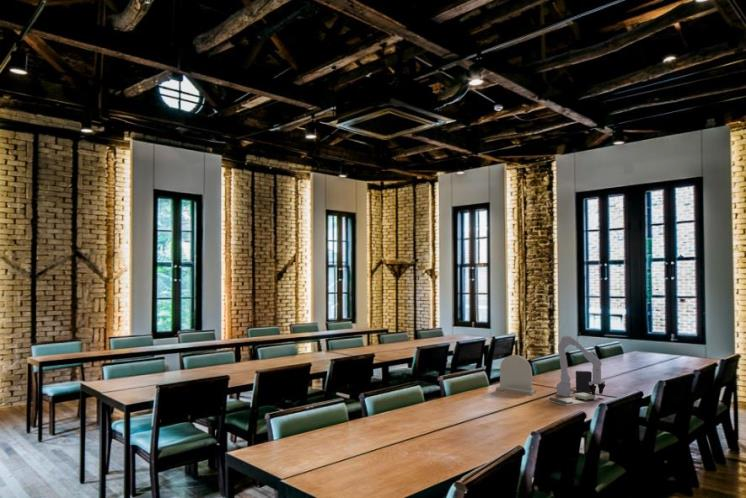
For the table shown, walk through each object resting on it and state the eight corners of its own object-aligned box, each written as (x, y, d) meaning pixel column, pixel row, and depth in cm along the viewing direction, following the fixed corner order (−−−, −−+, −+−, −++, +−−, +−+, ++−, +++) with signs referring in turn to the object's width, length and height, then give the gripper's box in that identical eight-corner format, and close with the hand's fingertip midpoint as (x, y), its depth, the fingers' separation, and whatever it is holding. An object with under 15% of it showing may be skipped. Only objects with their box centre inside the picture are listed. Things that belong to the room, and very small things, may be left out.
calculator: (590, 390, 398) (589, 371, 398) (592, 391, 393) (591, 372, 394) (575, 390, 399) (575, 370, 399) (577, 391, 394) (576, 371, 395)
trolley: (573, 398, 370) (573, 393, 370) (583, 397, 375) (583, 392, 375) (585, 401, 361) (585, 396, 361) (595, 400, 366) (595, 395, 366)
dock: (548, 400, 363) (548, 397, 363) (569, 397, 372) (569, 394, 372) (566, 405, 349) (566, 402, 349) (587, 402, 358) (587, 399, 358)
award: (536, 393, 386) (535, 356, 388) (532, 395, 379) (531, 357, 381) (500, 388, 403) (500, 352, 404) (496, 390, 396) (495, 354, 397)
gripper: (594, 377, 368) (594, 396, 367) (608, 375, 374) (608, 394, 374) (586, 375, 374) (586, 394, 373) (600, 373, 381) (600, 392, 380)
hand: (597, 394), depth 374 cm, fingers open, 7 cm apart
